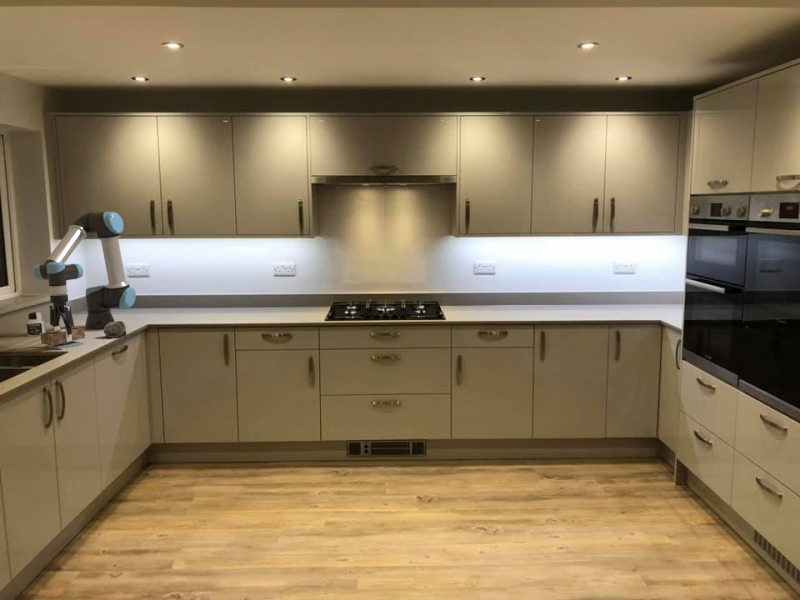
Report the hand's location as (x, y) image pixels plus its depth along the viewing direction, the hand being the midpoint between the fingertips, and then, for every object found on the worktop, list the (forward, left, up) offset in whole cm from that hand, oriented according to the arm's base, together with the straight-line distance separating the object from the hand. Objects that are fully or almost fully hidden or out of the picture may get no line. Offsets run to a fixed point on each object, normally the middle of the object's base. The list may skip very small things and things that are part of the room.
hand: (63, 340), depth 297 cm
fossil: (-25, +4, -3) cm, 26 cm away
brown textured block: (0, 0, 0) cm, 0 cm away
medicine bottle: (-11, -41, -3) cm, 43 cm away
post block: (0, 0, -3) cm, 3 cm away
